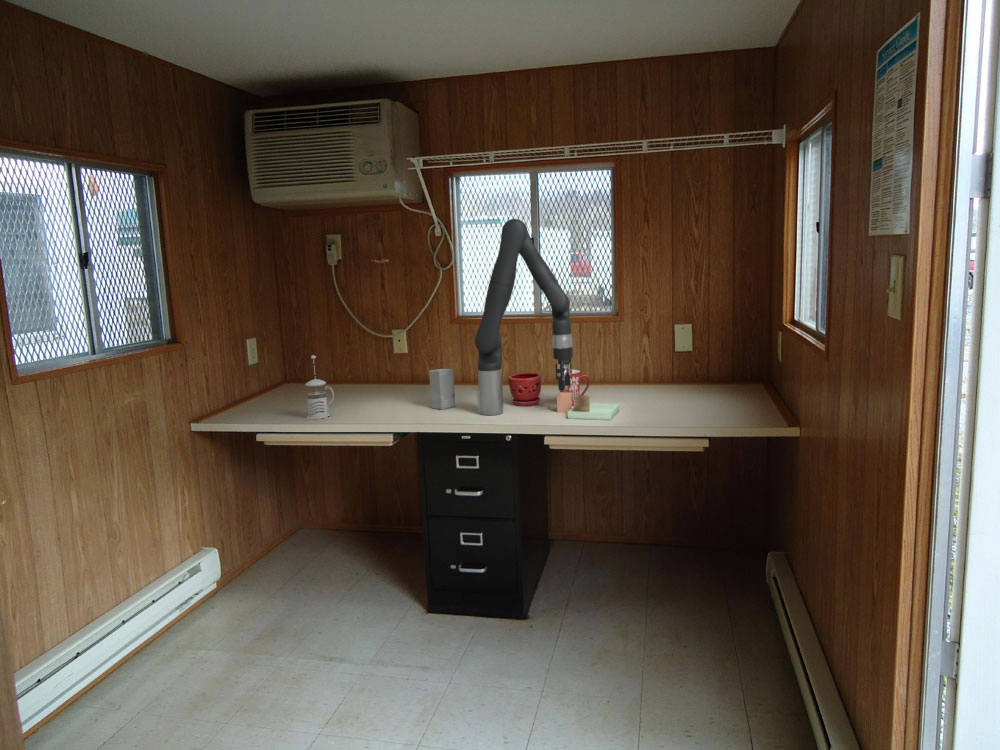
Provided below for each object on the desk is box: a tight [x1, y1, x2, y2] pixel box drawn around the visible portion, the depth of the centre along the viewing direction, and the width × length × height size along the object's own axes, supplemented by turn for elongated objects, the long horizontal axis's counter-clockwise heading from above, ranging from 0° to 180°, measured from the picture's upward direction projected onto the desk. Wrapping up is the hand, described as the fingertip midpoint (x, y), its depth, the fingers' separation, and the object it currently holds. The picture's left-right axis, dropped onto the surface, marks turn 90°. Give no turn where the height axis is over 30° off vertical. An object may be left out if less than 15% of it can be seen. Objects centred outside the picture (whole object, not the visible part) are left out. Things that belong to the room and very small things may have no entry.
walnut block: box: [574, 394, 590, 412], centre depth 270 cm, size 4×4×7 cm
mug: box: [559, 369, 591, 407], centre depth 291 cm, size 13×9×14 cm
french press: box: [305, 354, 335, 418], centre depth 290 cm, size 10×12×25 cm
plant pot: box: [508, 372, 542, 407], centre depth 297 cm, size 13×13×12 cm
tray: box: [567, 402, 620, 421], centre depth 272 cm, size 16×16×3 cm
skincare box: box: [428, 368, 456, 410], centre depth 298 cm, size 8×7×16 cm
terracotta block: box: [556, 391, 573, 414], centre depth 280 cm, size 4×4×7 cm
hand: (564, 387), depth 279 cm, fingers open, 8 cm apart
